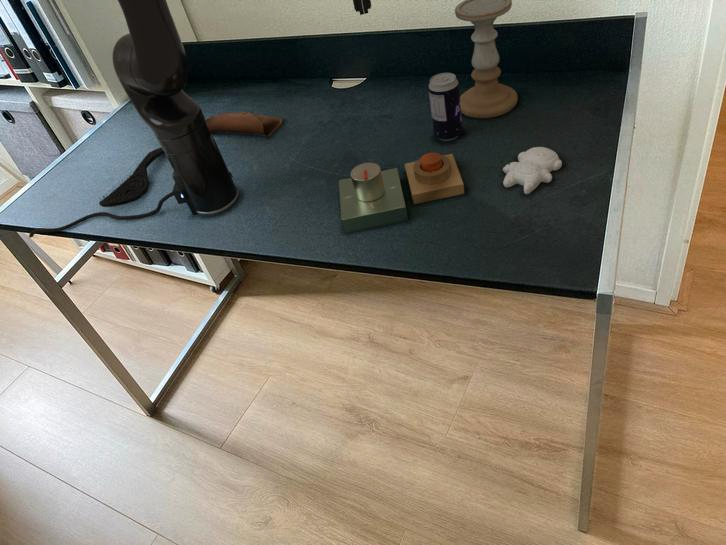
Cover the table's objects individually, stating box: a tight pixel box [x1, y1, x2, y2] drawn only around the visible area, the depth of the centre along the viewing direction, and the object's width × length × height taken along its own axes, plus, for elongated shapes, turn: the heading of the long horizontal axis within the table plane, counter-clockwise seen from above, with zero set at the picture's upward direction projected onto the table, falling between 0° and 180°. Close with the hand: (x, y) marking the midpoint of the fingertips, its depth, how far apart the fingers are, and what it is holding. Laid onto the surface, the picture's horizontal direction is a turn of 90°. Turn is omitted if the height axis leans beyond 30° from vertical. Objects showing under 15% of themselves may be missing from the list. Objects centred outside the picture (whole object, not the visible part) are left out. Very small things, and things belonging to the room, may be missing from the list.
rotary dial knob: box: [349, 162, 385, 202], centre depth 92 cm, size 5×5×5 cm
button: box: [420, 151, 442, 172], centre depth 94 cm, size 4×4×2 cm
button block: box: [404, 153, 465, 205], centre depth 96 cm, size 9×10×4 cm
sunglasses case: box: [206, 111, 284, 138], centre depth 127 cm, size 18×7×7 cm
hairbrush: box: [98, 146, 165, 208], centre depth 119 cm, size 8×4×25 cm
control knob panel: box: [338, 167, 409, 234], centre depth 95 cm, size 11×12×3 cm
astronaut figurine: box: [502, 146, 563, 195], centre depth 92 cm, size 9×12×3 cm
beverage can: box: [427, 72, 464, 142], centre depth 103 cm, size 6×6×12 cm
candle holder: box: [454, 0, 519, 119], centre depth 106 cm, size 12×12×20 cm
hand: (363, 12), depth 89 cm, fingers closed
